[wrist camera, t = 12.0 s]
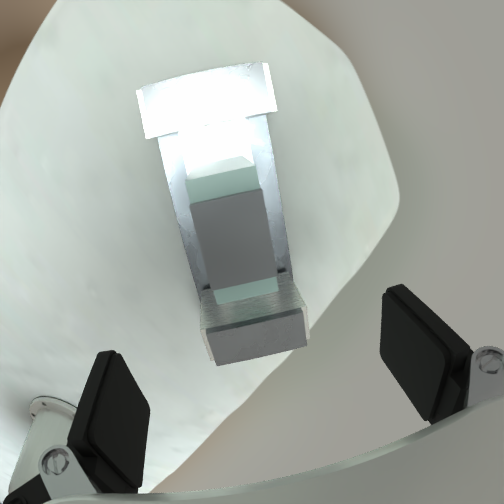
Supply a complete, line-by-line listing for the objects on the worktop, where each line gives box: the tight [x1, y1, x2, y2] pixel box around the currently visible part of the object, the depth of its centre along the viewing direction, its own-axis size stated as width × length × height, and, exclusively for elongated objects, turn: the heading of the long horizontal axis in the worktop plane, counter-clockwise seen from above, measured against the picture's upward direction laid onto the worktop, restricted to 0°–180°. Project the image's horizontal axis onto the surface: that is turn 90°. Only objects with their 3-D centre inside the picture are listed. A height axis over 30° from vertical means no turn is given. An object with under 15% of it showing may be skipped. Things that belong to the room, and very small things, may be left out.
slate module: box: [185, 155, 279, 305], centre depth 25 cm, size 5×9×10 cm, turn 11°
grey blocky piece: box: [137, 61, 310, 366], centre depth 26 cm, size 24×10×10 cm, turn 10°
